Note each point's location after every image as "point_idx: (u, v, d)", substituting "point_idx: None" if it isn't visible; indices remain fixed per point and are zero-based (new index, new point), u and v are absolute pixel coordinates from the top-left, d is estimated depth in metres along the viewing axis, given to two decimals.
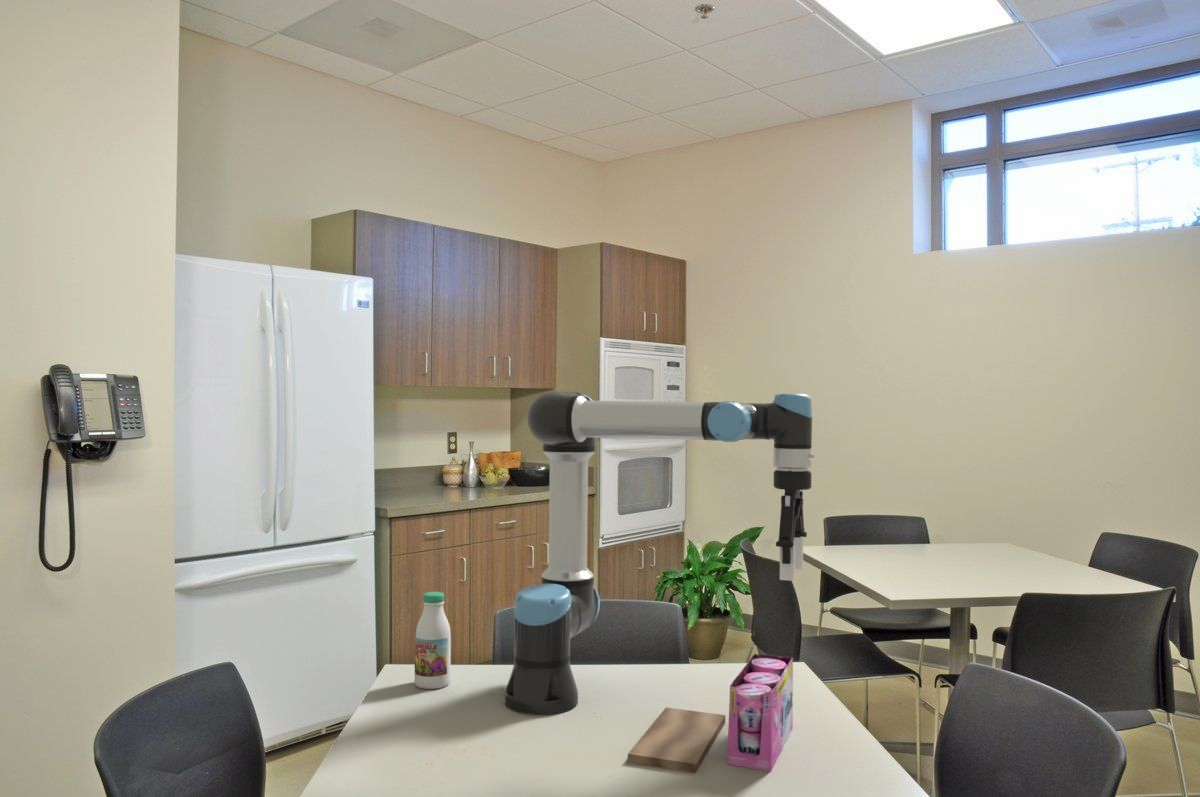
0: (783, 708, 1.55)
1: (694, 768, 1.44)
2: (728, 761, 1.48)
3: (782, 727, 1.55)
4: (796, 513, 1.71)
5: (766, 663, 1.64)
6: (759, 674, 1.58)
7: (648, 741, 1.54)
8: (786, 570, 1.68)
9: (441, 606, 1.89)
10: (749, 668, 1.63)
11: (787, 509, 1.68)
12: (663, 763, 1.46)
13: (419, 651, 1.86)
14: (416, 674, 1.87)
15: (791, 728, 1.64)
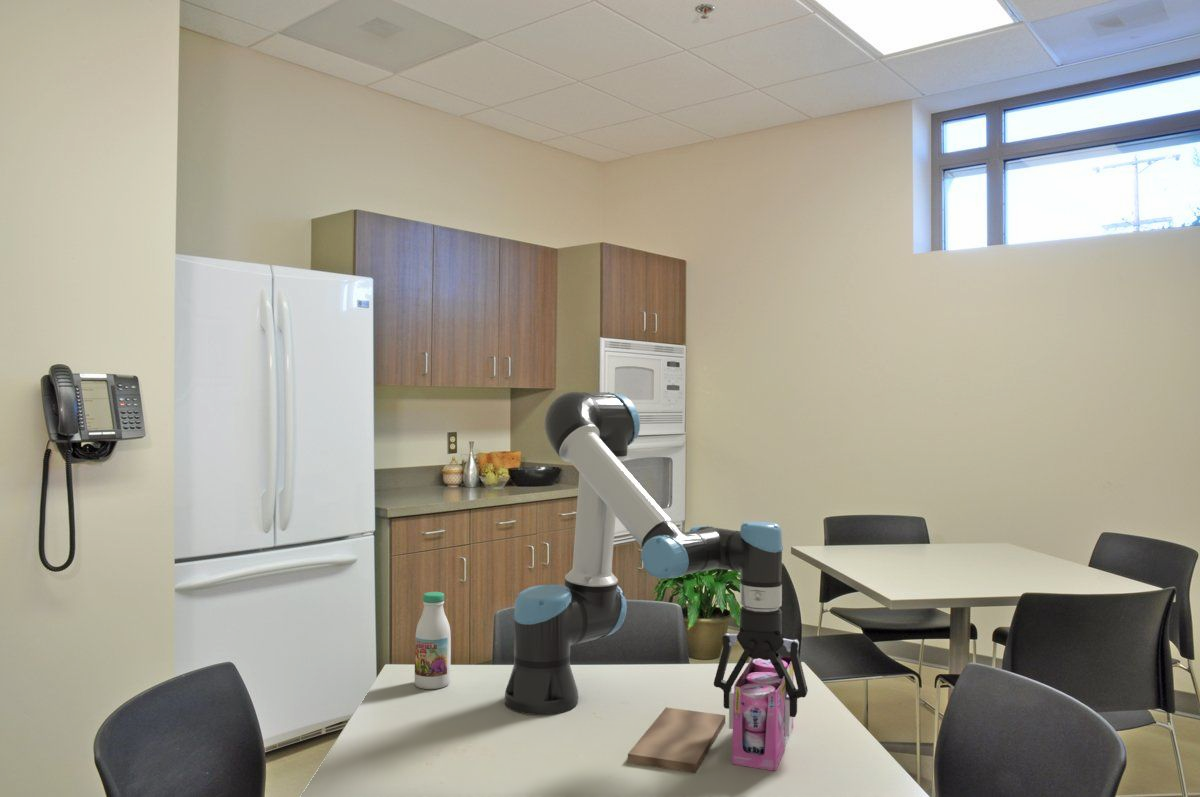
0: None
1: (694, 768, 1.44)
2: (732, 761, 1.48)
3: None
4: (741, 656, 1.57)
5: (767, 663, 1.64)
6: (761, 674, 1.58)
7: (648, 741, 1.54)
8: None
9: (441, 606, 1.89)
10: (751, 668, 1.63)
11: None
12: (663, 763, 1.46)
13: (419, 651, 1.86)
14: (416, 674, 1.87)
15: (792, 727, 1.65)
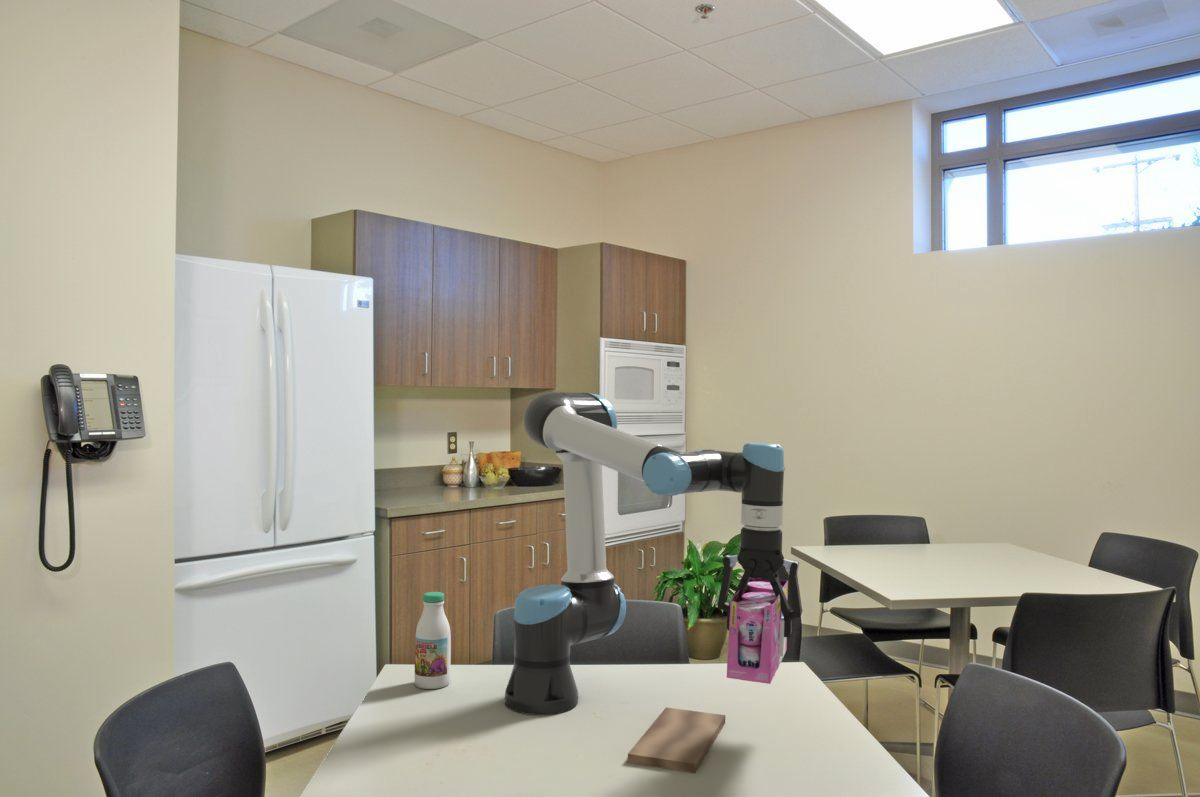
0: None
1: (694, 768, 1.44)
2: (727, 675, 1.49)
3: None
4: (742, 576, 1.58)
5: (762, 585, 1.65)
6: (757, 593, 1.59)
7: (648, 741, 1.54)
8: None
9: (441, 606, 1.89)
10: (745, 589, 1.64)
11: None
12: (663, 763, 1.46)
13: (419, 651, 1.86)
14: (416, 674, 1.87)
15: (785, 649, 1.66)
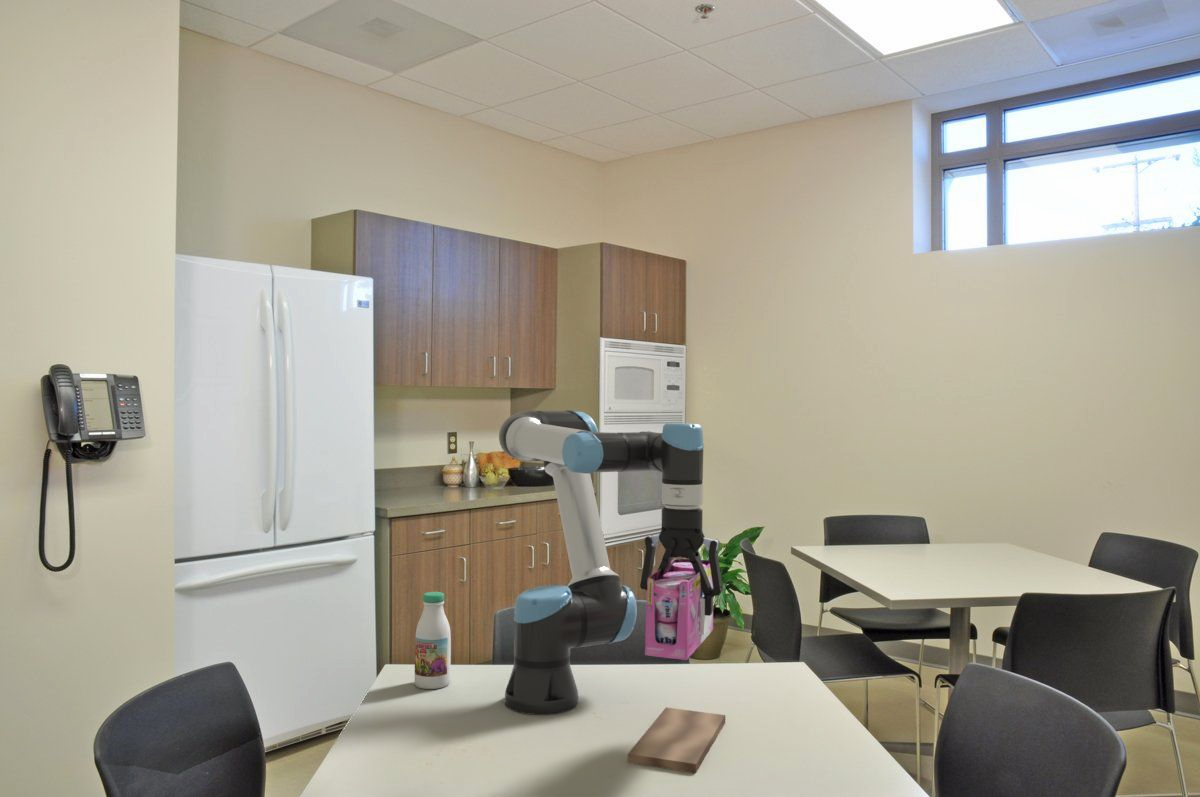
0: None
1: (694, 768, 1.44)
2: (646, 652, 1.49)
3: None
4: None
5: (687, 565, 1.65)
6: (678, 572, 1.60)
7: (648, 741, 1.54)
8: None
9: (441, 606, 1.89)
10: (670, 570, 1.65)
11: None
12: (663, 763, 1.46)
13: (419, 651, 1.86)
14: (416, 674, 1.87)
15: (711, 629, 1.66)
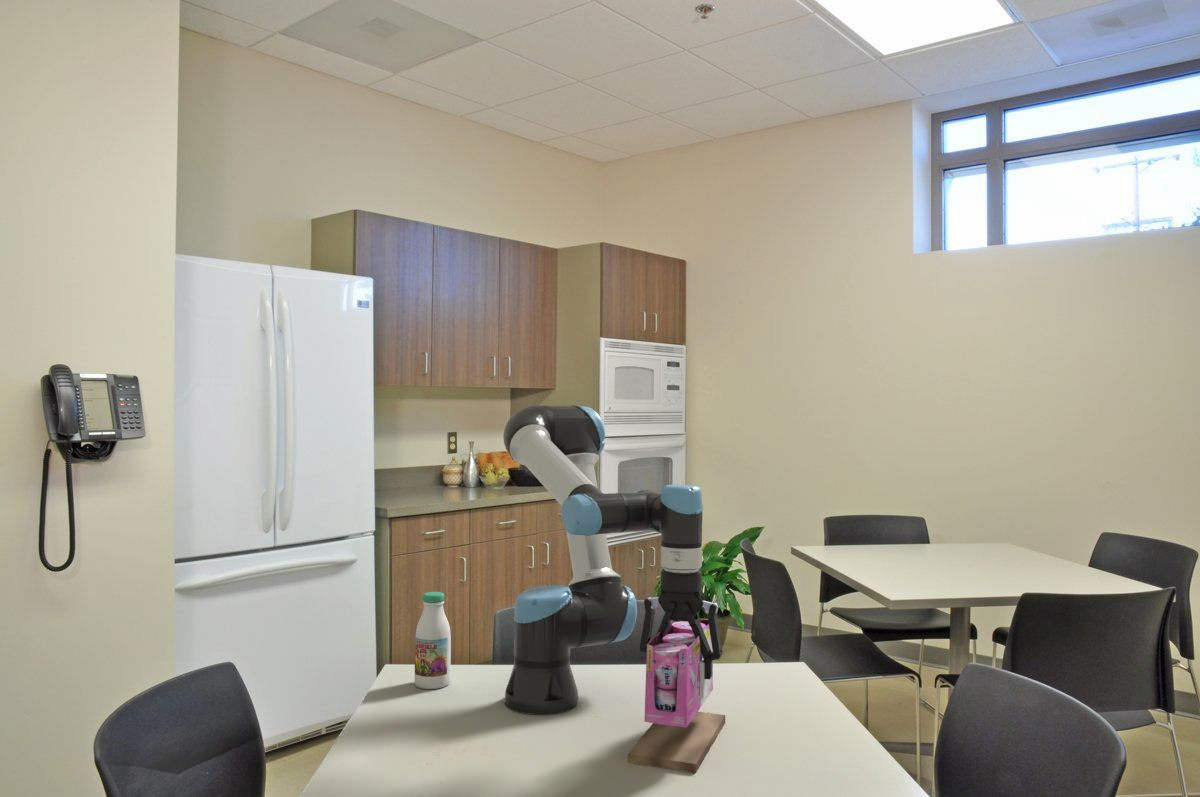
0: None
1: (694, 768, 1.44)
2: (645, 719, 1.49)
3: None
4: (662, 619, 1.58)
5: (686, 626, 1.65)
6: (678, 635, 1.59)
7: (648, 741, 1.54)
8: None
9: (441, 606, 1.89)
10: (669, 630, 1.65)
11: None
12: (663, 763, 1.46)
13: (419, 651, 1.86)
14: (416, 674, 1.87)
15: (711, 689, 1.66)
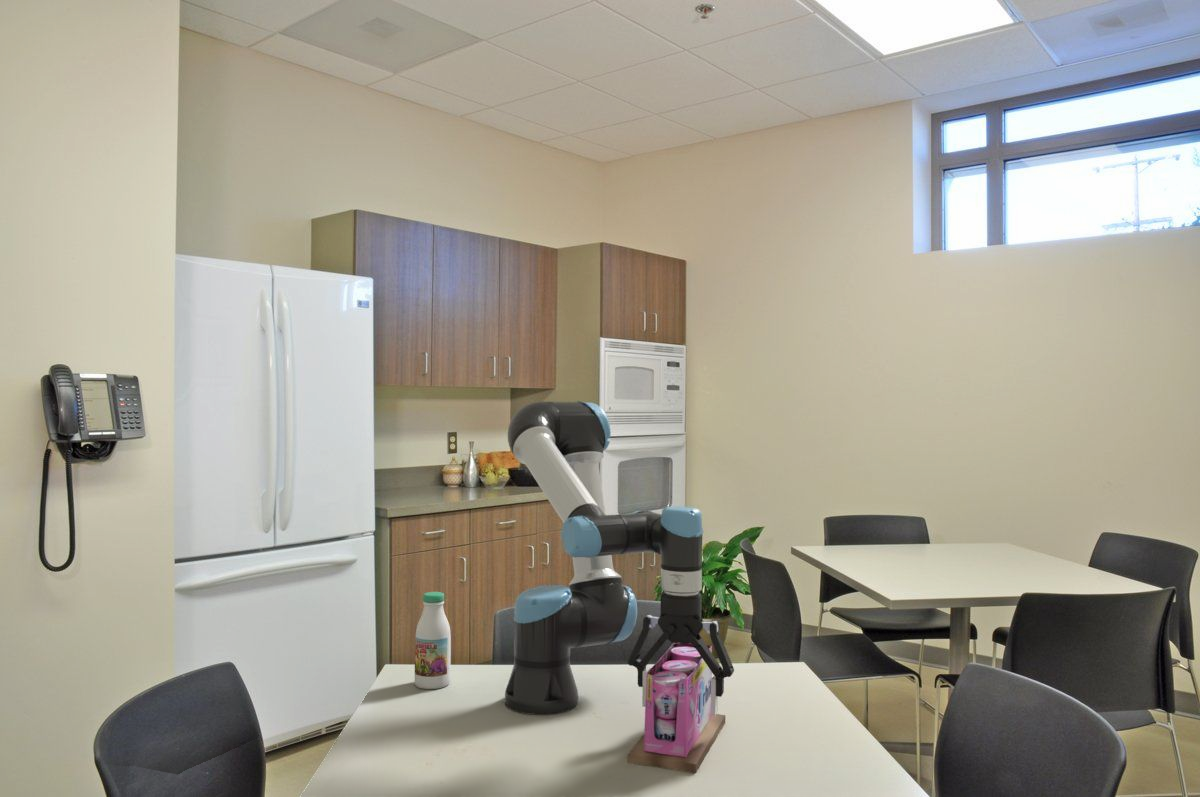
0: (700, 695, 1.57)
1: (694, 768, 1.44)
2: (644, 748, 1.49)
3: (699, 714, 1.56)
4: (659, 638, 1.58)
5: (685, 652, 1.65)
6: (677, 662, 1.59)
7: None
8: None
9: (441, 606, 1.89)
10: (668, 656, 1.65)
11: None
12: (663, 763, 1.46)
13: (419, 651, 1.86)
14: (416, 674, 1.87)
15: (710, 715, 1.66)
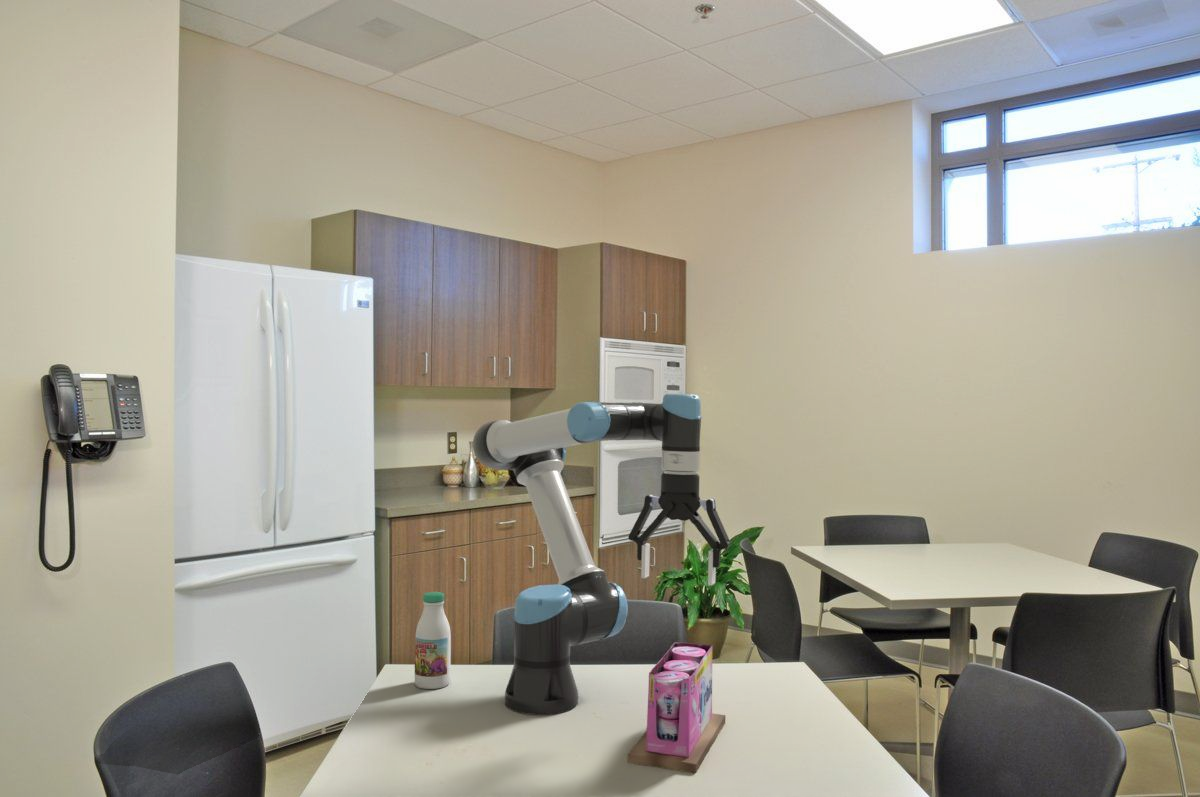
0: (702, 695, 1.57)
1: (694, 768, 1.44)
2: (647, 748, 1.49)
3: (701, 713, 1.56)
4: None
5: (686, 651, 1.65)
6: (679, 662, 1.59)
7: None
8: None
9: (441, 606, 1.89)
10: (669, 656, 1.65)
11: None
12: (663, 763, 1.46)
13: (419, 651, 1.86)
14: (416, 674, 1.87)
15: (710, 715, 1.66)
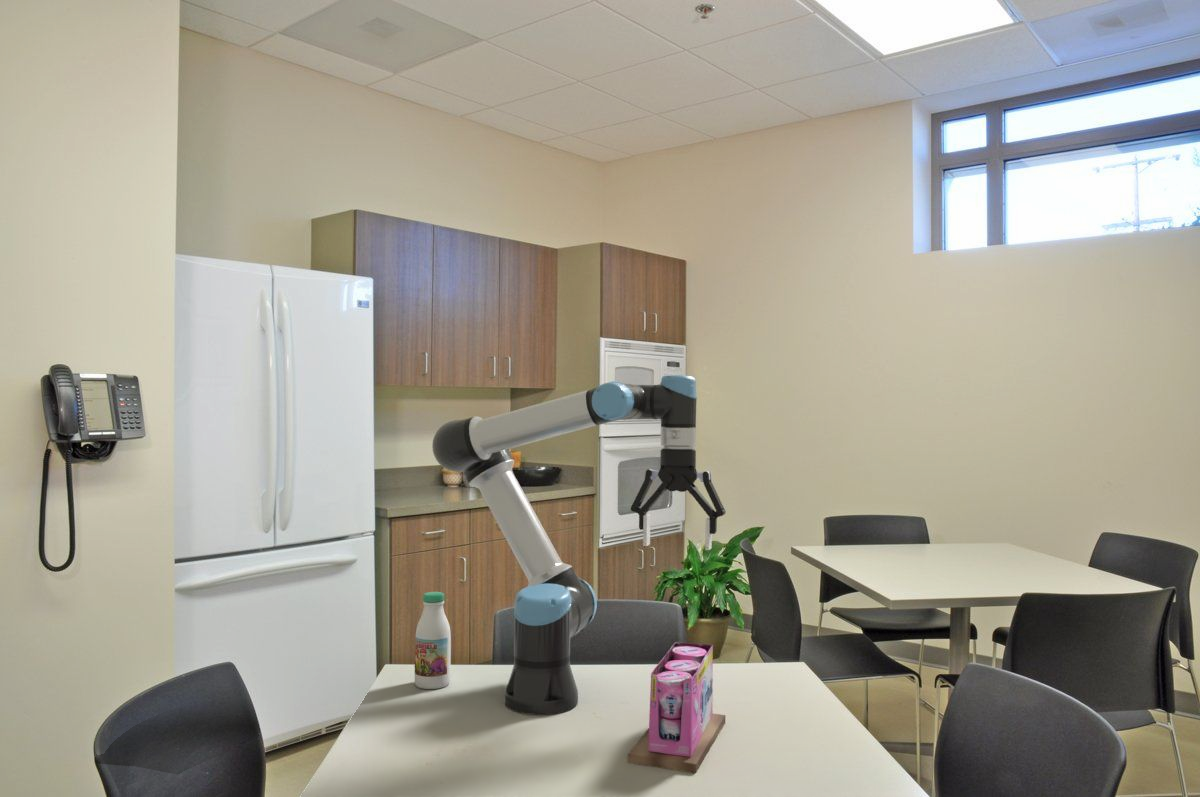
0: (703, 694, 1.57)
1: (694, 768, 1.44)
2: (649, 748, 1.49)
3: (702, 713, 1.57)
4: (658, 487, 1.84)
5: (687, 651, 1.66)
6: (680, 662, 1.60)
7: (648, 741, 1.54)
8: None
9: (441, 606, 1.89)
10: (670, 656, 1.65)
11: None
12: (663, 763, 1.46)
13: (419, 651, 1.86)
14: (416, 674, 1.87)
15: (711, 714, 1.67)
